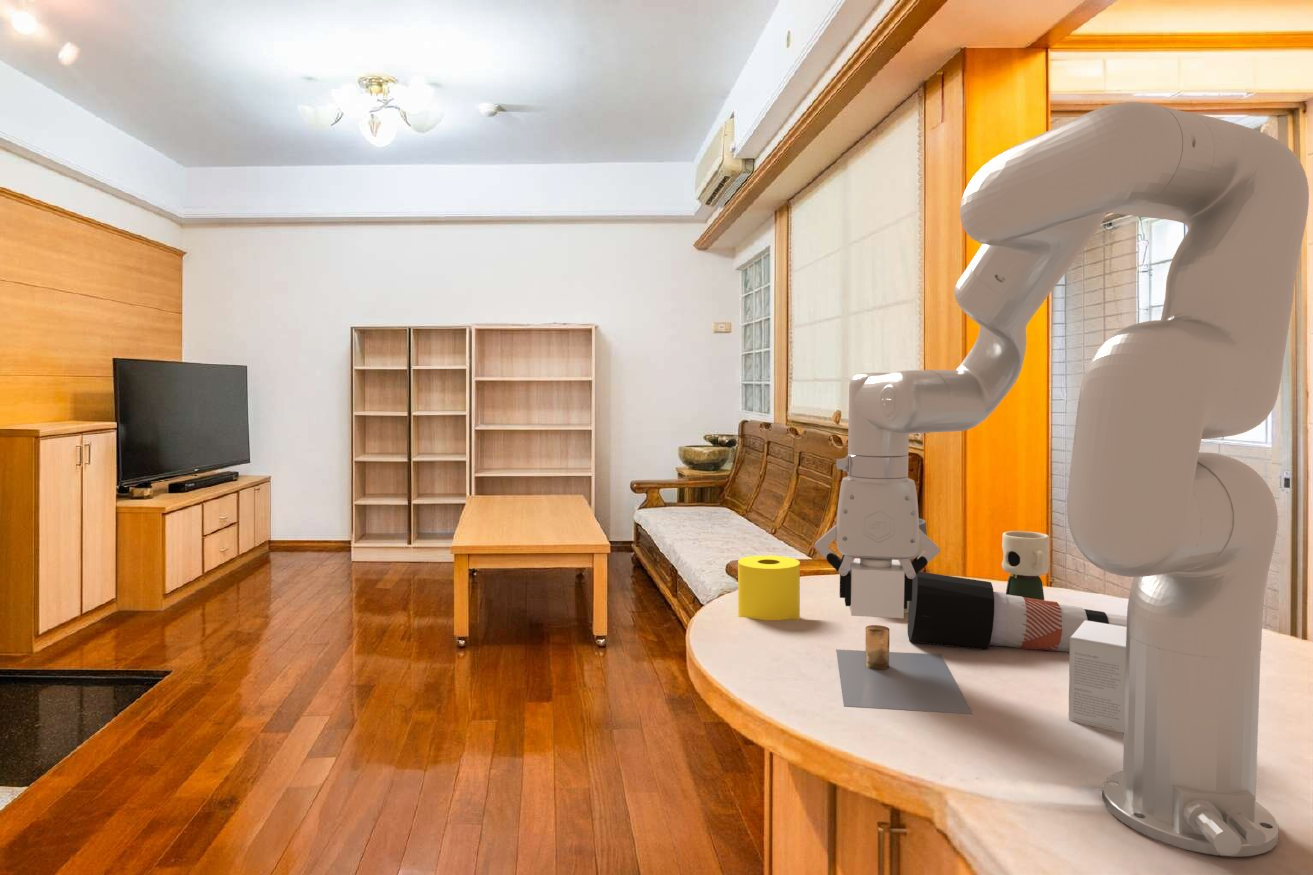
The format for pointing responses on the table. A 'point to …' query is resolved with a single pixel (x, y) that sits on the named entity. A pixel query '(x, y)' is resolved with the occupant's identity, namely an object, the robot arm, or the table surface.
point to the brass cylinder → (877, 647)
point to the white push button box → (877, 588)
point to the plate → (900, 683)
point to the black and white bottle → (991, 616)
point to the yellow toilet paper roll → (769, 587)
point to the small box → (1097, 675)
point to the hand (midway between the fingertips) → (875, 603)
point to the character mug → (1025, 562)
